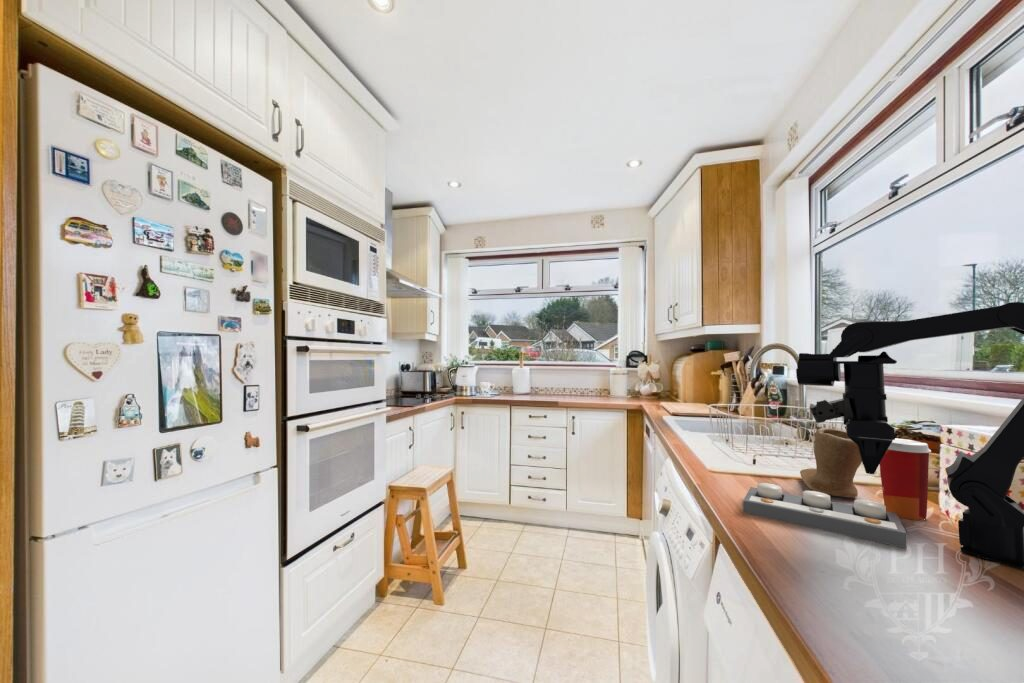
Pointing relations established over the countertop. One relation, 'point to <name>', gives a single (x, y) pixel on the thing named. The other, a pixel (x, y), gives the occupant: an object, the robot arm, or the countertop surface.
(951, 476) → the robot arm
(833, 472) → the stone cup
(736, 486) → the countertop surface
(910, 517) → the coffee cup
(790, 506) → the button board
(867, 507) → the button
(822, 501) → the button middle
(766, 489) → the button
